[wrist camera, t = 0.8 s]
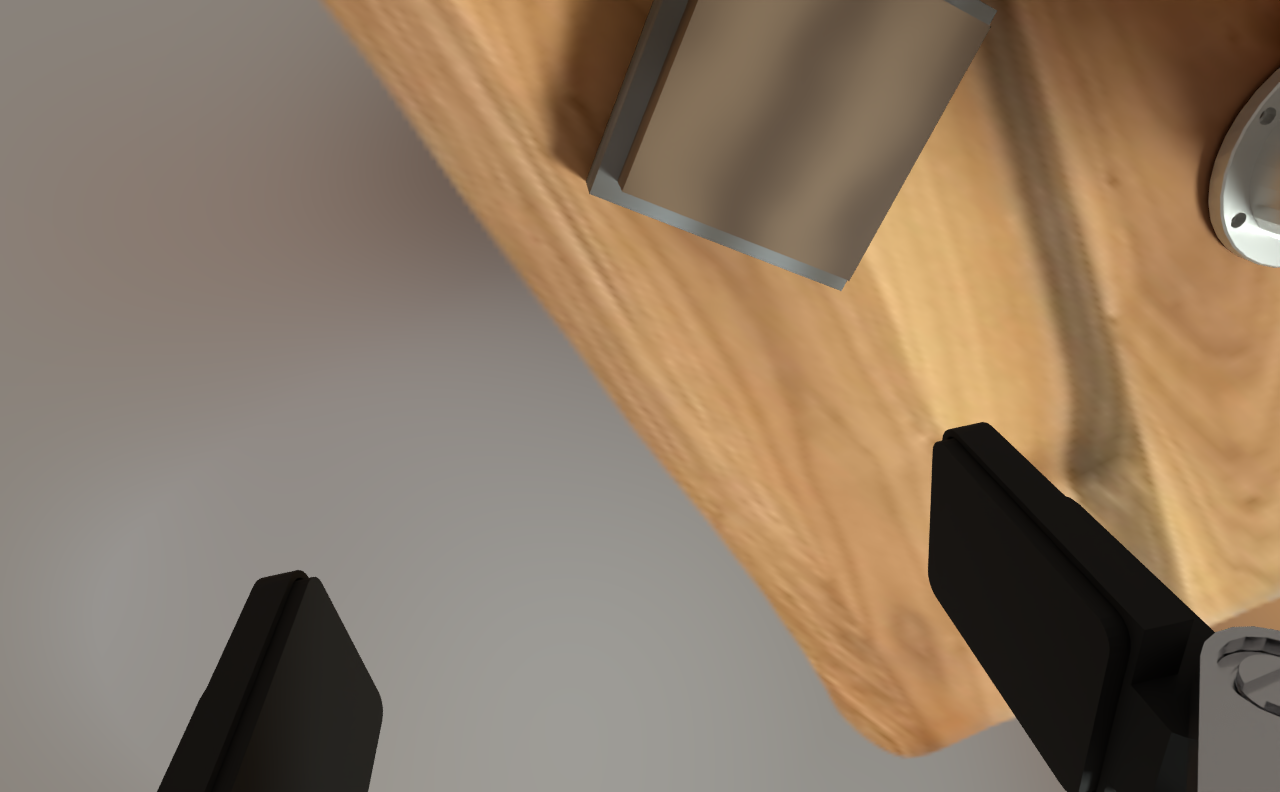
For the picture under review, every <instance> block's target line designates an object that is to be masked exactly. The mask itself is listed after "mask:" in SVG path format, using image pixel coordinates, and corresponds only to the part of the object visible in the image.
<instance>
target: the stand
mask: <svg viewBox="0 0 1280 792" xmlns="http://www.w3.org/2000/svg"><path fill="white" fill-rule="evenodd" d="M996 12H997V10H995V9H993V8H992V7H990V6H988V5H986V4H985V3H983V2H981V1H979V0H654V1H653V4H652V6H651V9H650V12H649V14H648V17H647V20H646V22H645V25H644V28H643V30H642V33H641V36H640V38H639V41H638V44H637V46H636V49H635V52H634V54H633V57H632V60H631V63H630V65H629V68H628V71H627V73H626V76H625V79H624V81H623V84H622V87H621V89H620V92H619V95H618V97H617V100H616V103H615V105H614V108H613V111H612V113H611V116H610V119H609V121H608V124H607V127H606V129H605V132H604V135H603V137H602V140H601V143H600V145H599V148H598V151H597V153H596V156H595V159H594V161H593V164H592V167H591V169H590V172H589V175H588V177H587V180H586V183H587V187H588V190H589V194H591V195H594V196H597V197H599V198H602V199H604V200H607V201H609V202H612V203H615V204H617V205H620V206H622V207H625V208H628V209H630V210H633V211H635V212H638V213H641V214H643V215H646V216H648V217H651V218H653V219H656V220H659V221H661V222H664V223H666V224H669V225H672V226H674V227H677V228H679V229H682V230H685V231H687V232H690V233H692V234H695V235H698V236H700V237H703V238H705V239H708V240H710V241H713V242H716V243H718V244H721V245H723V246H726V247H729V248H731V249H734V250H736V251H739V252H742V253H744V254H747V255H749V256H752V257H754V258H757V259H760V260H762V261H765V262H767V263H770V264H773V265H775V266H778V267H780V268H783V269H786V270H788V271H791V272H793V273H796V274H799V275H801V276H804V277H806V278H809V279H811V280H814V281H817V282H819V283H822V284H824V285H827V286H830V287H832V288H835V289H837V290H840V291H842V289H843V287H844V285H845V283H846V282H847V280H848V281H849V280H850V279H851V277H852V275H853V273H854V271H855V270H856V268H857V266H858V264H859V262H860V261H861V259H862V257H863V255H864V254H865V252H866V250H867V248H868V246H869V245H870V243H871V241H872V239H873V237H874V236H875V234H876V232H877V230H878V228H879V227H880V225H881V223H882V221H883V219H884V218H885V216H886V214H887V212H888V210H889V209H890V207H891V205H892V203H893V202H894V200H895V198H896V196H897V194H898V193H899V191H900V189H901V187H902V185H903V184H904V182H905V180H906V178H907V176H908V175H909V173H910V171H911V169H912V167H913V166H914V164H915V162H916V160H917V158H918V157H919V155H920V153H921V151H922V150H923V148H924V146H925V144H926V142H927V141H928V139H929V137H930V135H931V133H932V132H933V130H934V128H935V126H936V124H937V123H938V121H939V119H940V117H941V115H942V114H943V112H944V110H945V108H946V106H947V105H948V103H949V101H950V99H951V98H952V96H953V94H954V92H955V90H956V89H957V87H958V85H959V83H960V81H961V80H962V78H963V76H964V74H965V72H966V71H967V69H968V67H969V65H970V63H971V62H972V60H973V58H974V56H975V54H976V53H977V51H978V49H979V47H980V45H981V44H982V42H983V40H984V38H985V37H986V35H987V33H988V31H989V29H990V28H991V26H989V25H990V23H991V21H992V19H993V17H994V16H995V14H996Z"/></svg>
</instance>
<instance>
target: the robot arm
mask: <svg viewBox="0 0 1280 792" xmlns="http://www.w3.org/2000/svg"><path fill="white" fill-rule="evenodd" d="M1208 204H1209V212H1210V220H1211V223H1212V225H1213V228H1214V230H1215V233H1216V235H1217V237H1218V238H1219V239H1220V241H1221V242H1222V243H1223V245H1224V246H1225V247H1226V248H1227V249H1228V250H1230V251H1231V252H1232V253H1234V254H1235V255H1237V256H1238V257H1240V258H1243V259H1246V260H1248V261H1251V262H1253V263H1256V264H1258V265H1263V266H1268V267H1273V268H1280V68H1279V69H1278V70H1276V71H1275V72H1274V73H1273V74H1272V75H1271V76H1270V77H1269V78H1268V79H1267V80H1266V81H1265V82H1264V83H1263V84H1262V85H1261V87H1260V88H1259V89H1258V90H1257V91H1256V92H1255V93H1254V94H1253V96H1252V97H1251V98H1250V100H1249V101H1248V102H1247V103H1246V105H1245V106H1244V107H1243V109H1242V110H1241V111H1240V113H1239V114H1238V116H1237V117H1236V119H1235V121H1234V123H1233V124H1232V126H1231V128H1230V129H1229V131H1228V133H1227V134H1226V136H1225V138H1224V141H1223V143H1222V145H1221V148H1220V150H1219V153H1218V155H1217V157H1216V160H1215V164H1214V167H1213V171H1212V175H1211V179H1210V186H1209V199H1208ZM928 576H929V581H930V585H931V588H932V590H933V592H934V594H935V596H936V598H937V599H938V601H939V602H940V604H941V605H942V607H943V608H944V610H945V611H946V613H947V614H948V616H949V617H950V619H951V620H952V622H953V623H954V625H955V626H956V628H957V629H958V631H959V632H960V634H961V635H962V637H963V638H964V640H965V641H966V643H967V644H968V646H969V647H970V649H971V650H972V652H973V653H974V655H975V656H976V658H977V659H978V661H979V662H980V664H981V665H982V667H983V668H984V670H985V671H986V673H987V674H988V676H989V677H990V679H991V680H992V682H993V683H994V685H995V686H996V688H997V689H998V691H999V692H1000V694H1001V695H1002V697H1003V698H1004V700H1005V701H1006V703H1007V704H1008V706H1009V707H1010V709H1011V710H1012V712H1013V713H1014V715H1015V716H1016V718H1017V719H1018V721H1019V722H1020V724H1021V725H1022V727H1023V728H1024V730H1025V731H1026V733H1027V734H1028V736H1029V737H1030V739H1031V740H1032V742H1033V743H1034V745H1035V746H1036V748H1037V749H1038V751H1039V752H1040V754H1041V756H1042V757H1043V759H1044V760H1045V761H1046V763H1047V765H1048V766H1049V768H1050V769H1051V771H1052V772H1053V773H1054V775H1055V777H1056V778H1057V780H1058V781H1059V782H1060V784H1061V785H1062V786H1063V788H1064V789H1065V790H1066V791H1067V792H1280V631H1278V630H1273V629H1266V628H1260V627H1254V626H1251V627H1231V628H1228V629H1225V630H1222V631H1219V632H1214V631H1213V630H1212V629H1211V628H1210V627H1209V626H1208V625H1207V624H1206V623H1205V622H1203V621H1202V620H1201V619H1200V618H1199V617H1198V616H1197V615H1196V614H1195V613H1194V612H1193V611H1192V610H1191V609H1190V608H1189V607H1188V606H1187V605H1185V604H1184V603H1183V602H1182V601H1181V600H1180V599H1179V598H1178V597H1177V596H1176V595H1175V594H1174V593H1173V592H1172V591H1171V590H1170V589H1168V588H1167V587H1166V586H1165V585H1164V584H1163V583H1162V582H1161V581H1160V580H1159V579H1158V578H1157V577H1156V576H1155V575H1154V574H1153V573H1152V572H1150V571H1149V570H1148V569H1147V568H1146V567H1145V566H1144V565H1143V564H1142V563H1141V562H1140V561H1139V560H1138V559H1137V558H1136V557H1135V556H1134V555H1132V554H1131V553H1130V552H1129V551H1128V550H1127V549H1126V548H1125V547H1124V546H1123V545H1122V544H1121V543H1120V542H1119V541H1118V540H1117V539H1115V538H1114V537H1113V536H1112V535H1111V534H1110V533H1109V532H1108V531H1107V530H1106V529H1105V528H1104V527H1103V526H1102V525H1101V524H1100V523H1099V522H1097V521H1096V520H1095V519H1094V518H1093V517H1092V516H1091V515H1090V514H1089V513H1088V512H1087V511H1086V510H1085V509H1084V508H1083V507H1082V506H1081V505H1079V504H1078V503H1077V502H1075V501H1074V500H1073V499H1071V498H1069V497H1066V496H1065V495H1064V494H1063V493H1061V492H1060V491H1059V490H1058V489H1057V488H1056V487H1055V486H1054V485H1053V484H1052V483H1051V482H1050V481H1049V480H1048V479H1047V478H1046V477H1045V476H1044V475H1043V474H1042V473H1040V472H1039V471H1038V470H1037V469H1036V468H1035V467H1034V466H1033V465H1032V464H1031V463H1030V462H1029V461H1028V460H1027V459H1026V458H1025V457H1024V456H1023V455H1022V454H1021V453H1019V452H1018V451H1017V450H1016V449H1015V448H1014V447H1013V446H1012V445H1011V444H1010V443H1009V442H1008V441H1007V440H1006V439H1005V438H1004V437H1003V436H1002V435H1001V434H1000V433H998V432H997V431H996V430H995V429H994V428H993V427H992V426H991V425H989V424H988V423H985V422H981V423H976V424H972V425H967V426H962V427H958V428H953V429H948V430H947V431H945V433H944V435H943V439H942V441H939V442H936V443H935V444H934V446H933V458H932V483H931V508H930V534H929V559H928ZM382 716H383V707H382V701H381V697H380V694H379V692H378V690H377V688H376V686H375V685H374V683H373V680H372V679H371V677H370V675H369V673H368V671H367V669H366V667H365V665H364V663H363V661H362V659H361V657H360V655H359V653H358V652H357V650H356V648H355V646H354V644H353V642H352V640H351V638H350V636H349V634H348V632H347V630H346V629H345V627H344V625H343V623H342V621H341V619H340V617H339V615H338V613H337V611H336V609H335V608H334V606H333V604H332V602H331V600H330V598H329V596H328V594H327V592H326V590H325V588H324V586H323V584H322V583H321V581H320V580H319V579H318V578H317V577H311V578H308V576H307V575H306V573H304V572H303V571H301V570H296V571H292V572H287V573H282V574H278V575H273V576H268V577H264V578H261V579H259V580H257V582H256V583H255V584H254V586H253V588H252V590H251V592H250V595H249V597H248V599H247V601H246V603H245V605H244V608H243V610H242V612H241V614H240V617H239V619H238V621H237V623H236V626H235V627H234V630H233V632H232V634H231V636H230V638H229V640H228V643H227V645H226V647H225V649H224V651H223V654H222V656H221V658H220V660H219V662H218V665H217V667H216V669H215V671H214V673H213V675H212V677H211V680H210V682H209V684H208V686H207V688H206V690H205V691H204V693H203V695H202V697H201V698H200V700H199V702H198V704H197V706H196V708H195V711H194V713H193V715H192V717H191V719H190V722H189V724H188V726H187V728H186V731H185V733H184V735H183V737H182V739H181V741H180V743H179V745H178V748H177V750H176V752H175V754H174V756H173V758H172V761H171V763H170V765H169V767H168V769H167V771H166V774H165V776H164V778H163V780H162V782H161V785H160V787H159V789H158V791H157V792H368V789H369V784H370V779H371V774H372V769H373V764H374V759H375V754H376V748H377V744H378V739H379V734H380V729H381V724H382Z"/></svg>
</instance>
